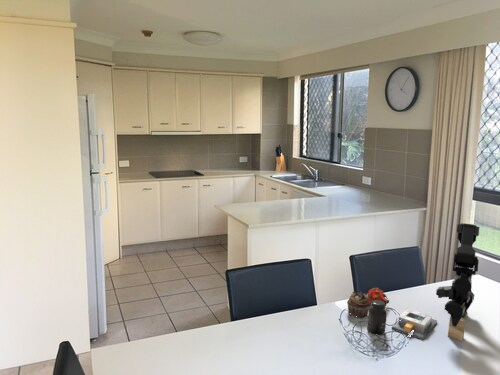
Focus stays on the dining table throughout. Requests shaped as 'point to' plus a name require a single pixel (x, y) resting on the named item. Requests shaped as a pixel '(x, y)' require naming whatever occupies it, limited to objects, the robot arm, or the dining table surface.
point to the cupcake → (358, 304)
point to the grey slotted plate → (415, 323)
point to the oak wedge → (457, 329)
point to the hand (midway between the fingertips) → (457, 322)
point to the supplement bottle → (377, 318)
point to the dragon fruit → (377, 295)
